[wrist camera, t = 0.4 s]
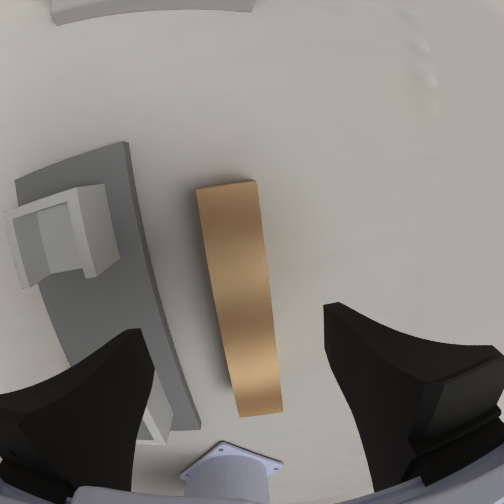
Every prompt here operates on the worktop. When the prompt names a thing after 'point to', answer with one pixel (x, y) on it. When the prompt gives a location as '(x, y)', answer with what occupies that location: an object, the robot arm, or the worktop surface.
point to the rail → (241, 293)
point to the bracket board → (98, 272)
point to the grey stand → (135, 7)
